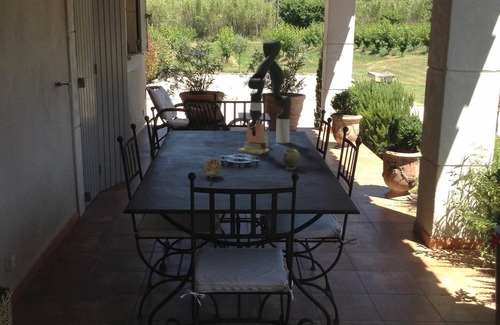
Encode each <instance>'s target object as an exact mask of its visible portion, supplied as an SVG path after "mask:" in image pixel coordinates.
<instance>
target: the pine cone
mask: <svg viewBox="0 0 500 325" xmlns="http://www.w3.org/2000/svg"><path fill="white" fill-rule="evenodd" d="M204 171H205V173H206V175H207V176H208V177H209V178H211V179H212V178H214V177H215V178H217V177H218V176H219V175H220V173H221V171H222V162H221V160H219V159H218V158H216V157H213V158H212V159H211V158H210V159H208V160H207V161H206V162H205V165H204Z"/></svg>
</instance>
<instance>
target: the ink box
mask: <svg viewBox="0 0 500 325" xmlns="http://www.w3.org/2000/svg"><path fill="white" fill-rule="evenodd" d="M268 132H269V131H268V130H264V143H266V148H268V147H269V134H268Z"/></svg>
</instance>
